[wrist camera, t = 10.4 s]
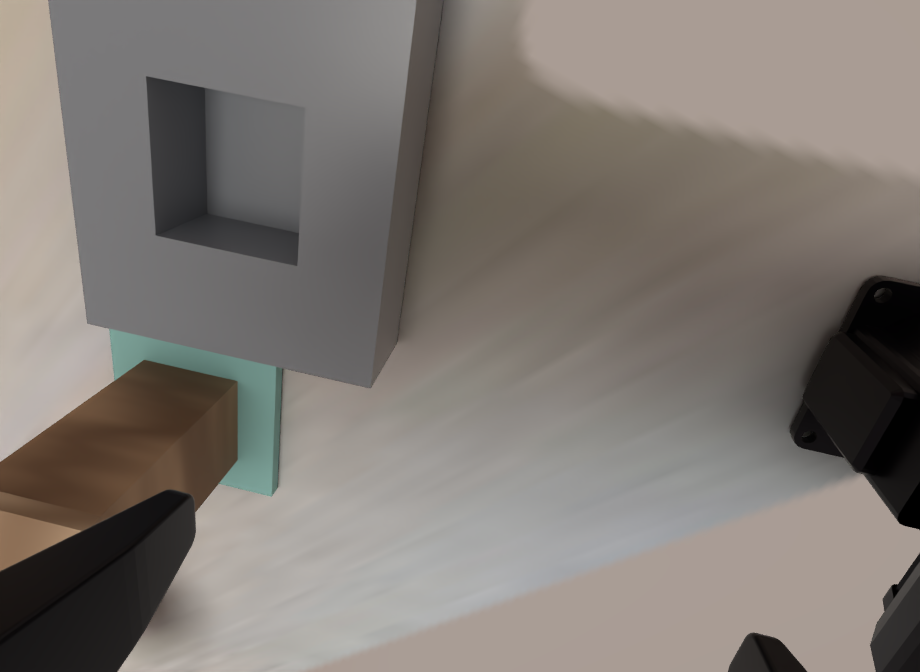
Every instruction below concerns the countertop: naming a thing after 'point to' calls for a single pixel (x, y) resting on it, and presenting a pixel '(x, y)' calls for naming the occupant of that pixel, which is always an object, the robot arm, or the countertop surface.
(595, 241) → the countertop surface
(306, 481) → the countertop surface
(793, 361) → the countertop surface
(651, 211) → the countertop surface
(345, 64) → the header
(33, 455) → the plug
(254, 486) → the mat
